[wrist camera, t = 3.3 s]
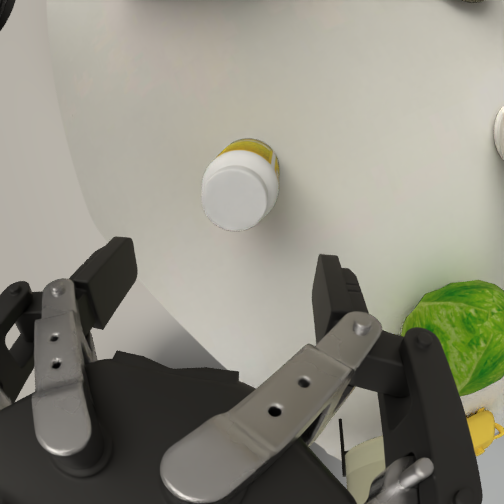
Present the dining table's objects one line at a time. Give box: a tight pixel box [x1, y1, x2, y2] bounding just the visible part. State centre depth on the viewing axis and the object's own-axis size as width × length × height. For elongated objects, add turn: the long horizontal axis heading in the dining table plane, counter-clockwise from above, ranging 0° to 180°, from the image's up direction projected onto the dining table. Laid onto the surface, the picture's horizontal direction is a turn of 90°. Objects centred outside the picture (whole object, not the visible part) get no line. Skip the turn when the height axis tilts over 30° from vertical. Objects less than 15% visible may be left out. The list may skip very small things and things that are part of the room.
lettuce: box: [401, 280, 504, 396], centre depth 31 cm, size 17×20×17 cm
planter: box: [339, 419, 385, 504], centre depth 40 cm, size 15×16×23 cm
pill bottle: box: [202, 138, 279, 231], centre depth 25 cm, size 6×6×11 cm
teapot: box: [466, 408, 504, 456], centre depth 49 cm, size 13×20×12 cm
